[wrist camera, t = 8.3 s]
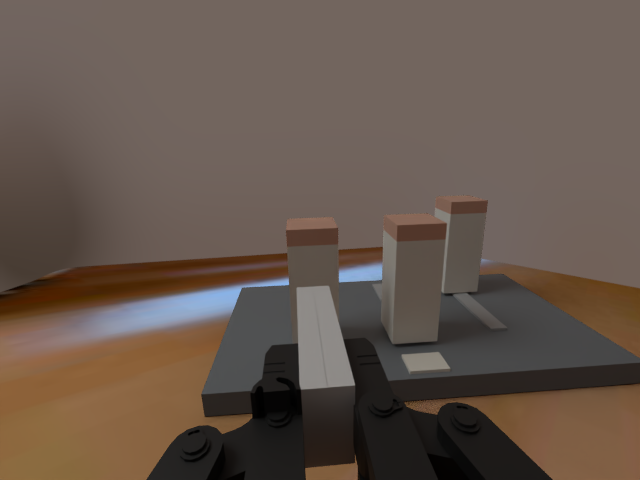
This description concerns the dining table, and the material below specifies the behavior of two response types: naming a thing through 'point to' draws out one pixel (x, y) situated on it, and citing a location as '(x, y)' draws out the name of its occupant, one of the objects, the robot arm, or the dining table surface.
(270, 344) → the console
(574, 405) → the dining table surface
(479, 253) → the switch
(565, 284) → the dining table surface
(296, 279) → the white brown-topped block
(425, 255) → the switch
